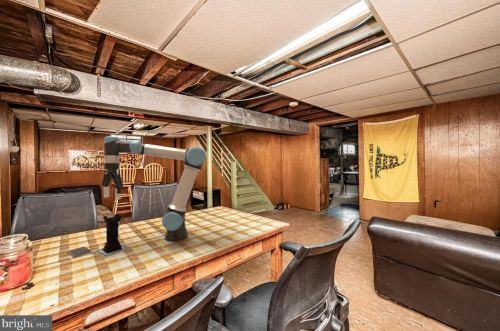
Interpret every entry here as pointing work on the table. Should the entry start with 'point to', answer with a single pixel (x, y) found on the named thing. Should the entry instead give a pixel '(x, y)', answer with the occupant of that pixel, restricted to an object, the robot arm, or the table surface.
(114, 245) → the chess piece
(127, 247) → the print sheet
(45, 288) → the table surface
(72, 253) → the ink pad
